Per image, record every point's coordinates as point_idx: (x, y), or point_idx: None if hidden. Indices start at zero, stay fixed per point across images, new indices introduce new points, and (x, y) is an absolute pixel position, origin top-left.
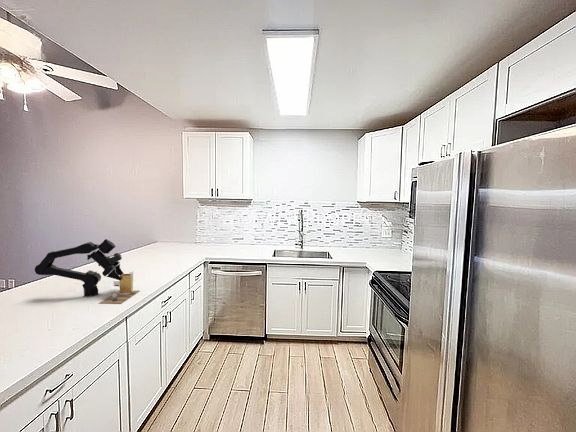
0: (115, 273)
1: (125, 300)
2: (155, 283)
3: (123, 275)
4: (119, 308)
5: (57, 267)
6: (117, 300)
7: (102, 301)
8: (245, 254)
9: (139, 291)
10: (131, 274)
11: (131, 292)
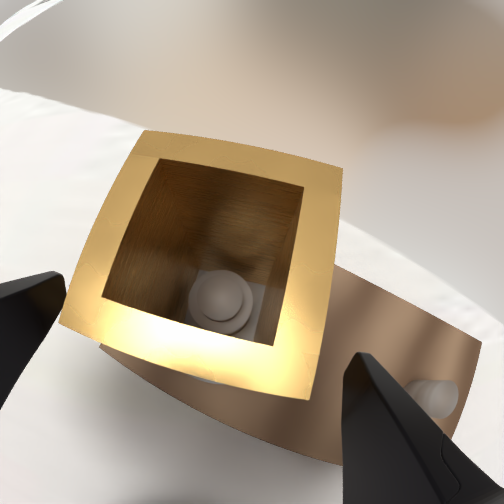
0: (475, 483)
1: (434, 321)
2: (40, 132)
3: (113, 298)
4: (485, 348)
5: None
6: (419, 377)
7: None
8: (14, 25)
9: None
10: (209, 147)
11: None
